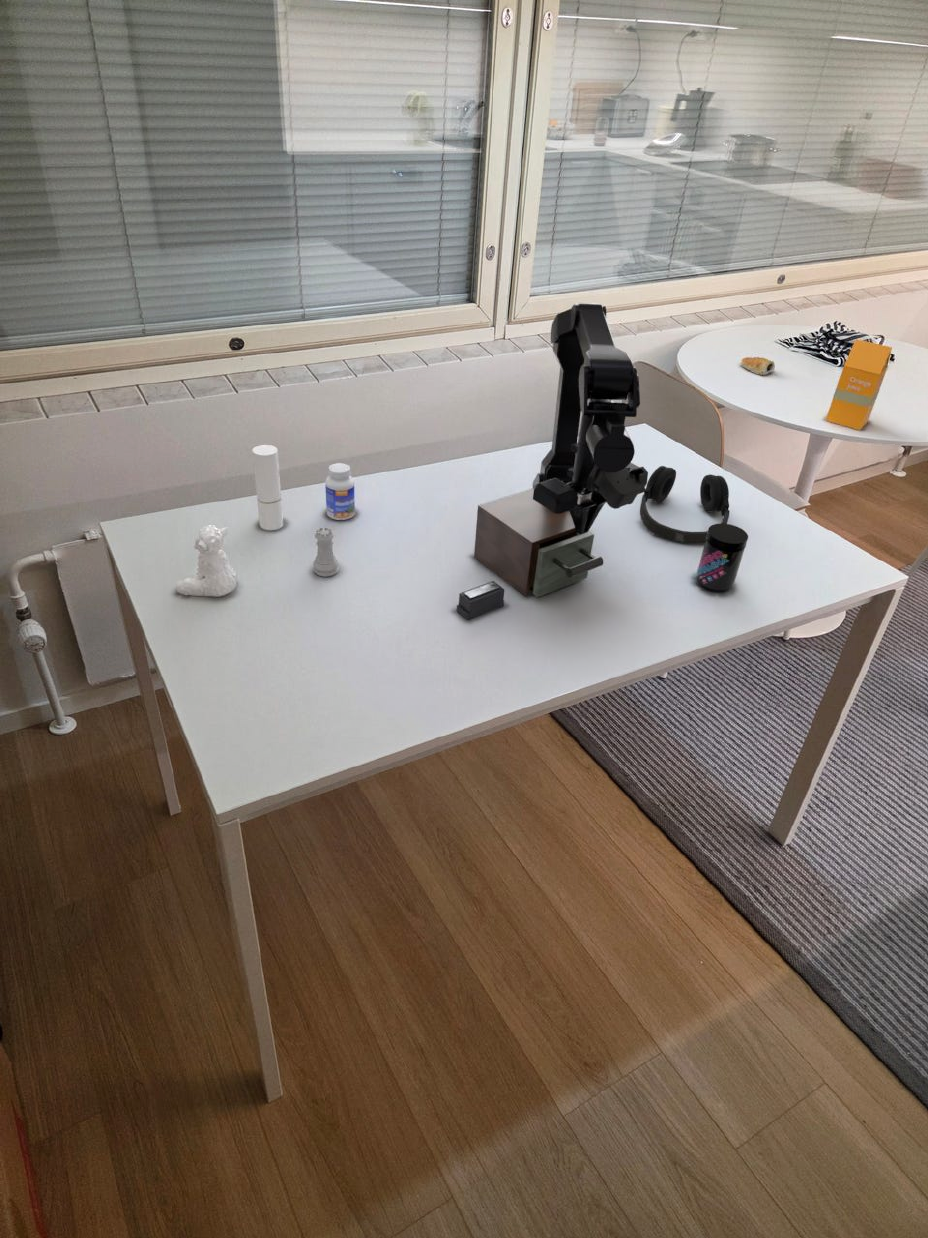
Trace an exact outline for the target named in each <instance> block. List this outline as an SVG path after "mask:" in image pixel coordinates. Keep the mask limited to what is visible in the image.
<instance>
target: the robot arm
mask: <svg viewBox="0 0 928 1238" xmlns="http://www.w3.org/2000/svg"><path fill="white" fill-rule="evenodd" d="M607 319H608V318H607V307H606V305H604V304H602V303H595V302H594V303H593V302H577V303H574V304H573V305H572V306H571V308H569V309H566V310H564V311H562V312H560V313H557V314H556V315H555V317H554V318H553V321H552V323H551V327H550V344H552V353H553V354H554V357H555V359H556V361H557V363H558V366H559V375H558V384H557V395H556V403H555V412H554V422H553V431H552V432H553V433H552V442H551V449H550V450H549V451H548V452H547V454H546V455H545V457H544V458H543V459H542V461H541V463H540V471H539V472H537V473H536V476H535V477H534V479H533V480H532V488H534V493H533V500H535V501H537V502H538V503H540V504H541V505H543V506H544V507H546V508H547V509H549V510H551V511H552V512H554V513H557V514H561V513H564V512H567V511H570V514H571V517H572V520H573V523H574V526H575V529H576V531H577V533H579V534H580V535H581V534H583V532H585V533H587V532H589V531H590V529H591V528H592V526H593V524H594V522H596V519H597V518H598V515H599V513H600V512H601V511H602V509H603V508H604V506H605V504H606V503H607V506H609V507H610V508H611V509H614V510H615V509H620V508H621V507H624V506H626V505H631V504H634V501H635V499H636V498H637V496H638V495H640V494H644V492H645V489H646V486H647V483H648V479H649V477H648V476H649V472H648V470H647V469H646V468H645V467H644V466H638V465H636V464H634V463H633V462H632V461H633V459H634V456H635V445H634V443H633V441H632V438H631V437H630V435H629V432H628V431H627V429H626V425H625V422H626V418H637V412H638V411H637V410H638V408H639V406H640V405H641V395H640V377H639V375H638V369H637V367H636V366H634V362H633V361H632V359H631V357H630V356H629V354H628V353H627V352H625V351H623V350H621V349H619V348H617V346H616V345H615V341H614V338H613V335H612V333H611V329H610V326H609V324H608V320H607ZM615 401H627V402H615Z"/></svg>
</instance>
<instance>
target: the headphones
mask: <svg viewBox="0 0 928 1238" xmlns="http://www.w3.org/2000/svg"><path fill="white" fill-rule="evenodd" d="M676 477H677V471H676V470H675V469H674V468H672V467H667V466H665V465H660V466H659V467H657V468H656V469H655V470H654V471H653V472H652V474H651V475H650V477H648V479H647V484H646V486H645V492H643V495H642V496H641V502H640V506H639V516H640V520H641V523H642V524H643V525H644V527H645V528H646V529H647V530H648V531H649V532H651V533H652V534H654V535H655V536H657V537H660V538H663V539H664V540H668V541H672V542H675V543H680V544H687V545H693V544H694V545H697V544H698V545H703V544H705V540H706V535H707V532H708V530H706V531H687V530H681V529H677V528H672V527H670V526H667V525H665V524H663V523H660V522H658V521H657V520H655V519H654V518H653V516H651V515H650V513H649V511H648V509H647V502H648V500H651V501H653V502H655V503H657V504H661V503H663V502H664V501H665V500H666V499H667V498H668V496H669V495H670V493H671V492H672V490H673V487H674V484H675V482H676ZM728 485H729V484H728V483H727V481H726V479H725V477H724V476H722V475H715V474H710V473H709V474H706V475H704V476H703V478H702V479H701V482H700V488H699V495H700V503H701V505H702V507H703V510H704V511H706V512H709V513H714V512H720V515H721V517H723V518H722V521H721V522H720V523H723V524H728V521H729V518H730V510H729V508H730V502H729V498H730V497H729V496H730V490H729V486H728Z"/></svg>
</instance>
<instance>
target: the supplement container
mask: <svg viewBox="0 0 928 1238" xmlns="http://www.w3.org/2000/svg"><path fill="white" fill-rule="evenodd" d="M707 531H708V532H707V535H706V540H705V543H703V544H704V545H703V548H702V552H701V555H700V559H699V562H698V566H697V569H696V574H695V582H696V584H697V585H698V586H699V587H700V588H701V589H703V590H704V591H707V592H708V593H714V594H724V593H728V592H729V591H731V590H732V589H733V588H734V585H735V582H736V579H737V576H738V572H739V569H740V566H741V562H742V559H743V556H744V553H745V549H746V547H747V542H748V540H749V535H748V533H747V532H746V530H744V529H743V528H742V527H739V526H737V525H733V524H729V523H727V524H723V523H721V522H720V523H714V524H712V525H710V526H709V527H708V529H707Z"/></svg>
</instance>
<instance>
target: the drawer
mask: <svg viewBox="0 0 928 1238" xmlns="http://www.w3.org/2000/svg"><path fill="white" fill-rule="evenodd" d="M594 539H595V534H594V533H593V532H592V531H590V530H589V531H588V532H587V533H583V534H581V535H580V534H579V533H577V531H575V532H572V533H570V534H567V535H564V536H561V537H558V538H555V539H553V540H550V541H547V542H544V543H541V544H538V545H536V546H535V552H534V560H533V568H532V576H531V583H530V587H533V586H534V588H533V594H532V595H534V596H535V597H536V598H539V597H543V596H544V595H546V594H549V593H553V592H554V591H557V590H559V589H563V588H564V587H568V586H569V585H572V584H574V583H578V582H580V581H582V580H585V579H587V578H588V573H589V571H591V570H593V569H596V568H599V567H602V566H603V565H604V558H603V557H602V556H594V555H593V554H592V549H593V544H594Z"/></svg>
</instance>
